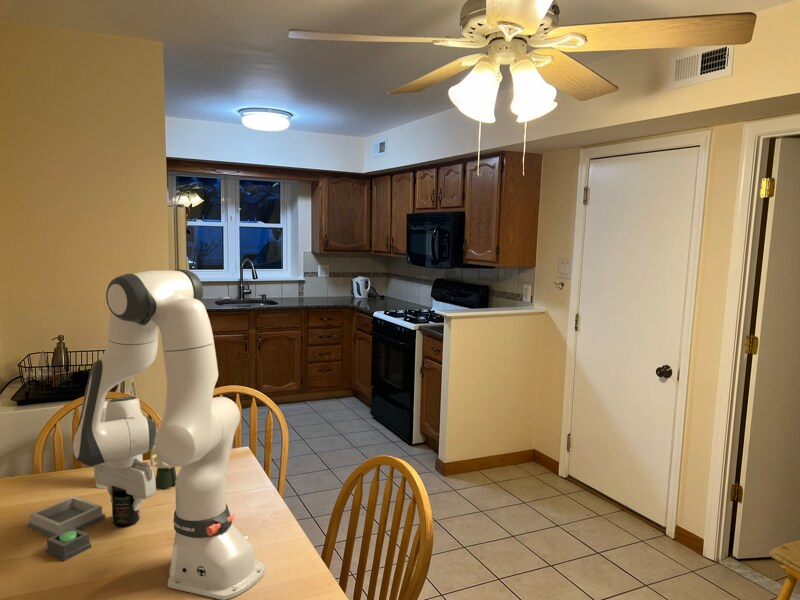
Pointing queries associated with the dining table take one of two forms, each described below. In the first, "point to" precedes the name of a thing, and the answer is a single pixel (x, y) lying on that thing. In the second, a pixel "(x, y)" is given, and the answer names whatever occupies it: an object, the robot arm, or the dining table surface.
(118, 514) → the supplement container
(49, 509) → the square shallow tray
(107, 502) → the dining table surface
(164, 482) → the character mug
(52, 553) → the button housing
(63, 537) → the button
